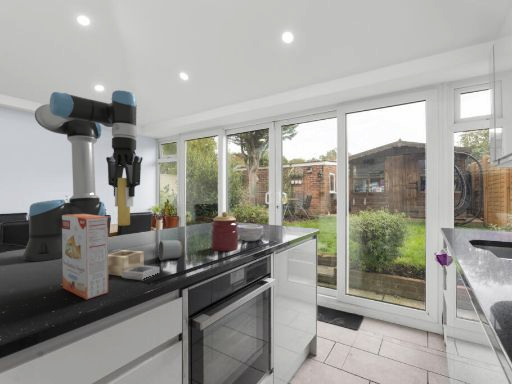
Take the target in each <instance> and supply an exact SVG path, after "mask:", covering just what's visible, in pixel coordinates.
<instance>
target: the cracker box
mask: <svg viewBox="0 0 512 384" xmlns="http://www.w3.org/2000/svg"><path fill="white" fill-rule="evenodd" d="M108 217H109V216H106V215H105V216H97V215H89V214H68V215H62V288H63V289H64V290H66V291H68V292H70V293H72V294H74V295H76V296H78V297H81V298H83V299H84V300H91V299H93V298H96V297H99V296H103V295H105V294H108V293H109V274H108V254H109V218H108Z"/></svg>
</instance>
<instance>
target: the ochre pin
mask: <svg viewBox="0 0 512 384" xmlns="http://www.w3.org/2000/svg"><path fill="white" fill-rule="evenodd" d="M126 186H127V179H126V177H122V178H118V206H117V226H118V227H119V226H121V227H122V226H130V225H131V207H125V195H126Z"/></svg>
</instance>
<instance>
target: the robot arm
mask: <svg viewBox="0 0 512 384" xmlns="http://www.w3.org/2000/svg"><path fill="white" fill-rule="evenodd" d="M110 99H111V102H109V103H108V102H103V101H99V100H94V99H91V98H86V97H81V96H77V95H72V94H68V92H59V91H54V92H52V93H51V95H50V97H49V103H47V104H41V105H40V106H38V107H37V108H36V110H35V111H34V119H35V121H36V122H37V123H38V125H39V126H41V127H42V128H43V129H45V130H47V131H49V132H52V133H54V134H60V135H66V139H67V141H68V142H70V143H71V166H72V170H71V171H72V192H73V193H72V196H70V198H69V202H66V200H65V199H53V200H44V201H40V202H34V203H31V204H30V206H29V209H28V210H29V212H28V217H29V218H28V219H29V221H28V223H29V224H28V226H29V227H28V230H29V231H28V234H29V235H28V237H29V239H28V241H27V244H26V246H25V250H24V252H23V261H26V262H39V261H40V262H43V261H50V260H55V259H57V260H58V259H60V258H62V215H68V214H89V215H97V216H105V217H106V206H105V203H104V202H102V201H101V199H100V197H99V196H98V195H97V194H96V177H95V174H96V172H95V155H94V154H95V153H94V152H95V151H94V149H95V147H94V144H96V143H97V142H98V139H100V138H101V136H102V126H104V127H106V128H111V136H112V138H111V148H112V150H113V153H112V155H111V156H106V158H105V160H106V163H107V178H108V179H107V180H108V181H107V182H108V185H109V186H112V187H113V197H114V207H115V208H116V207H117V208H118V178H123V176H124V175H123V174H124V170H125V178H126V179H127V186H126V195H125V207H130V208H131V207H134V197H135V194H136V190H135V189H136V187H137V186H140V185H141V171H142V169H141V168H142V162H143V157H142V156H141V155H140V156H139V155H137V154H136V153H137V152H136V150H137V140H136V139H137V106H138V105H137V97H136V95H135V94H134V93H132V92H130V91H127V90H114V91H113V92H112V93H111V98H110ZM62 259H63V258H62Z"/></svg>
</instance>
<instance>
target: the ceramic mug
mask: <svg viewBox="0 0 512 384" xmlns="http://www.w3.org/2000/svg"><path fill="white" fill-rule="evenodd" d="M157 249H158V250H157V251H158V258H159V260H160V261H166V260H172V259H173V260H174V259H179V258H181V256H182V254H183V244H182V242H181V240H177V239H176V240H175V239H173V240H169V239H168V240H160V241H159V243H158V247H157Z"/></svg>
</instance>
